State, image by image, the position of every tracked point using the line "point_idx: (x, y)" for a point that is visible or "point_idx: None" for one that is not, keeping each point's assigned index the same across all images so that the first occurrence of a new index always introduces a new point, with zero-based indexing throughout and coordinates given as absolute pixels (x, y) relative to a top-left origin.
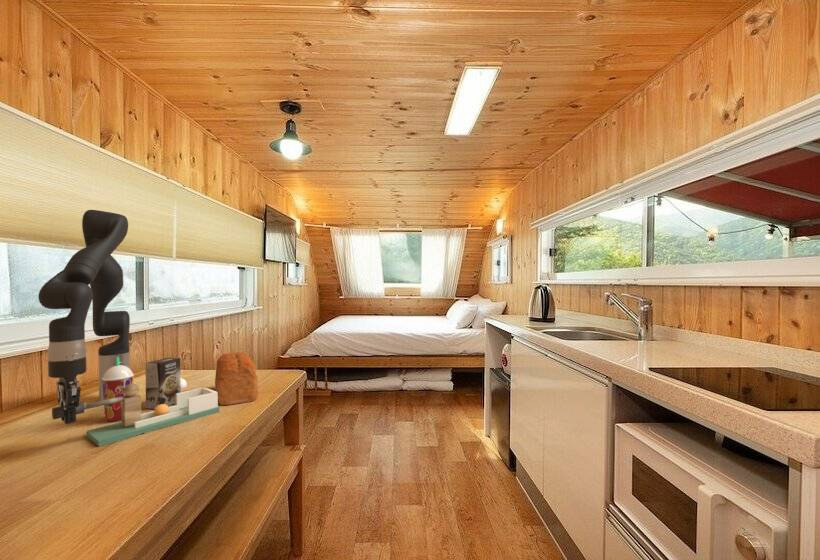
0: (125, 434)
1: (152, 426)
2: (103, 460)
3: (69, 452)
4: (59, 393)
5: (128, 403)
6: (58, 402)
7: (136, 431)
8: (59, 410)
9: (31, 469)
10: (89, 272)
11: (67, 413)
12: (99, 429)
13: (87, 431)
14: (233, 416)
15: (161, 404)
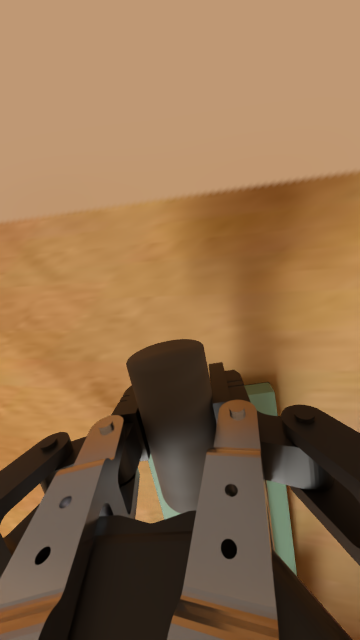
0: (150, 462)
1: (164, 516)
2: (33, 399)
3: (148, 341)
4: (197, 519)
5: None
6: (310, 406)
7: (155, 484)
8: (135, 392)
9: (78, 264)
10: None
11: (114, 412)
12: None
13: (262, 393)
14: None
15: None
